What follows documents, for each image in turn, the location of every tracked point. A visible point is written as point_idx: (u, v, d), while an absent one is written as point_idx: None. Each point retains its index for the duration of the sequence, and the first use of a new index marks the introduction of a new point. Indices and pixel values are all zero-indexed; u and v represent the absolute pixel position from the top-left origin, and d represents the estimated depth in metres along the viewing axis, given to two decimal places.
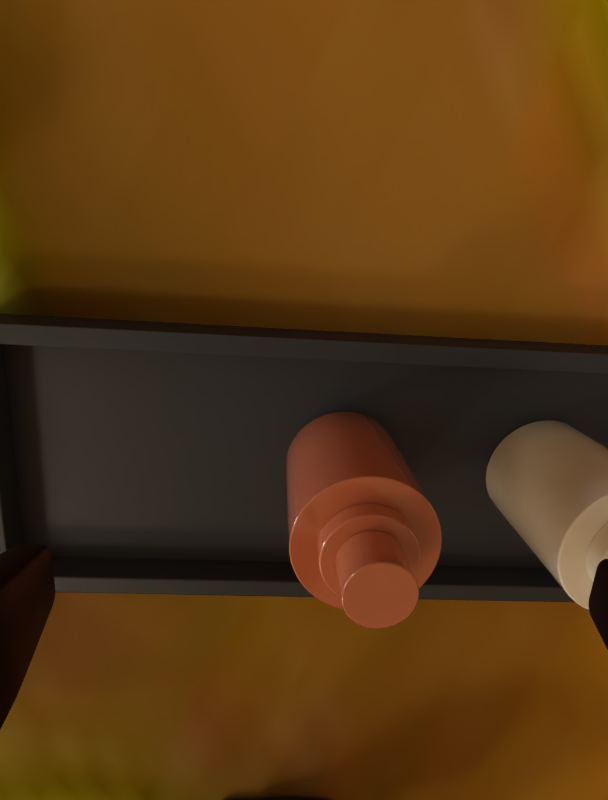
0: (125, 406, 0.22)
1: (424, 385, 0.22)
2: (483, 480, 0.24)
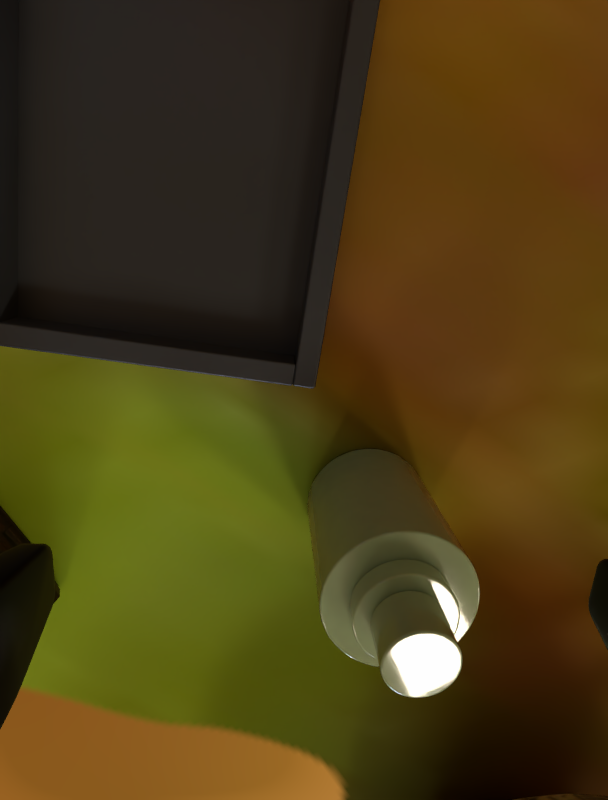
0: (102, 190, 0.18)
1: None
2: None
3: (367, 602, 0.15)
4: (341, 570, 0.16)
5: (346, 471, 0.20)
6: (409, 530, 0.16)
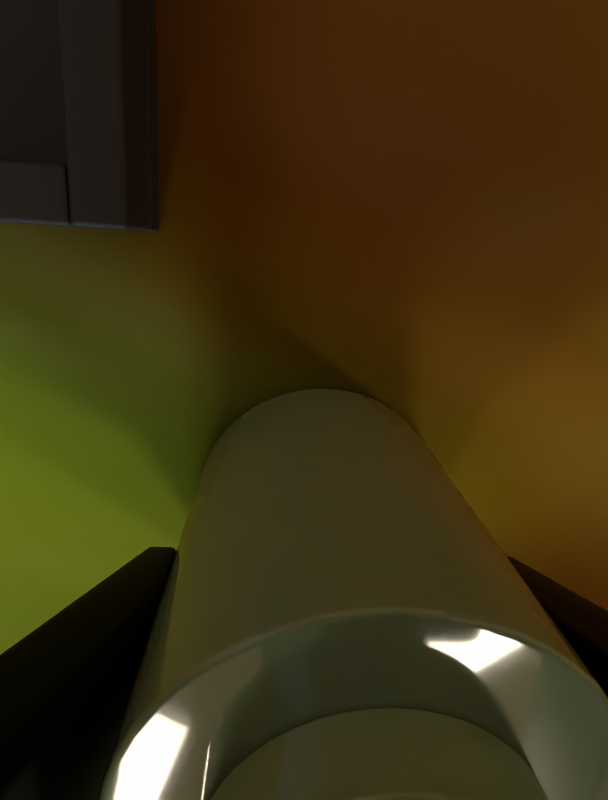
0: None
1: None
2: None
3: None
4: (145, 765, 0.04)
5: (248, 438, 0.09)
6: (373, 608, 0.04)
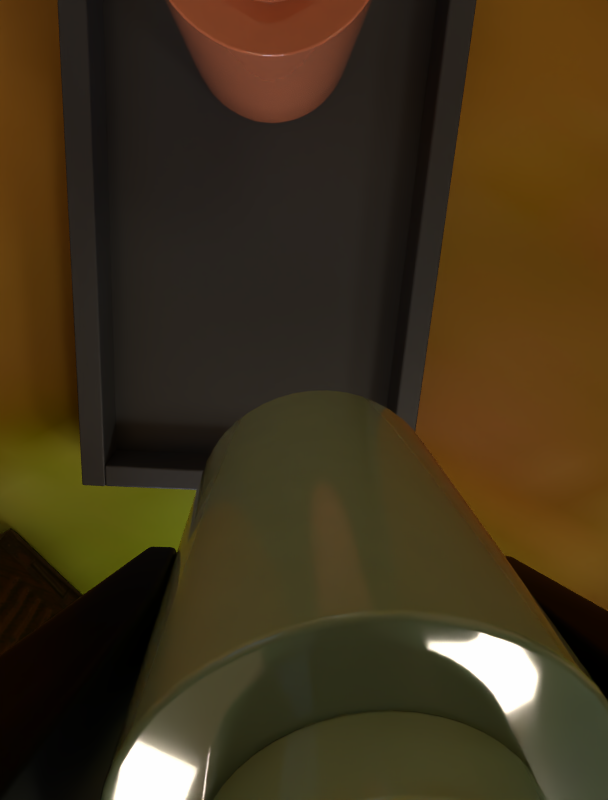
0: (191, 329, 0.19)
1: None
2: None
3: None
4: (147, 768, 0.04)
5: (248, 439, 0.09)
6: (373, 612, 0.04)
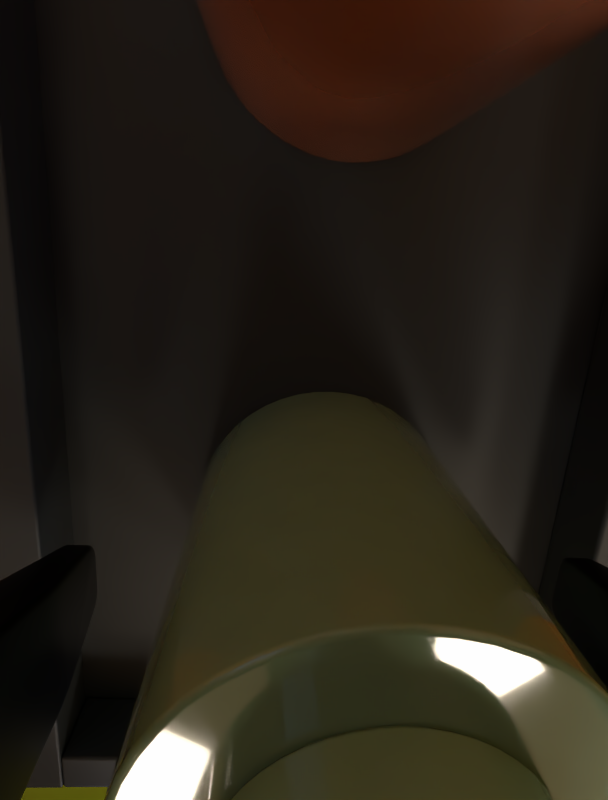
0: None
1: None
2: None
3: None
4: (148, 785, 0.04)
5: (251, 442, 0.09)
6: (382, 625, 0.04)
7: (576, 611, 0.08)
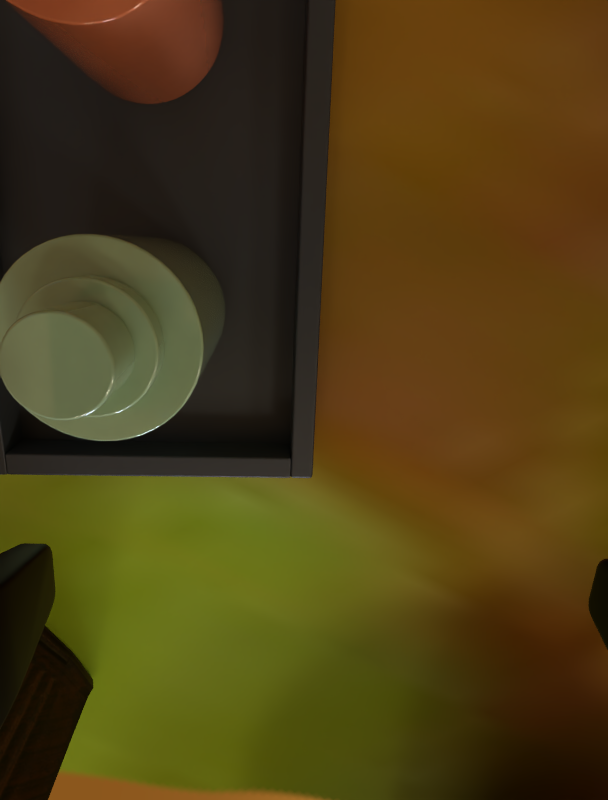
0: None
1: None
2: None
3: None
4: (4, 301, 0.12)
5: None
6: (79, 234, 0.12)
7: None
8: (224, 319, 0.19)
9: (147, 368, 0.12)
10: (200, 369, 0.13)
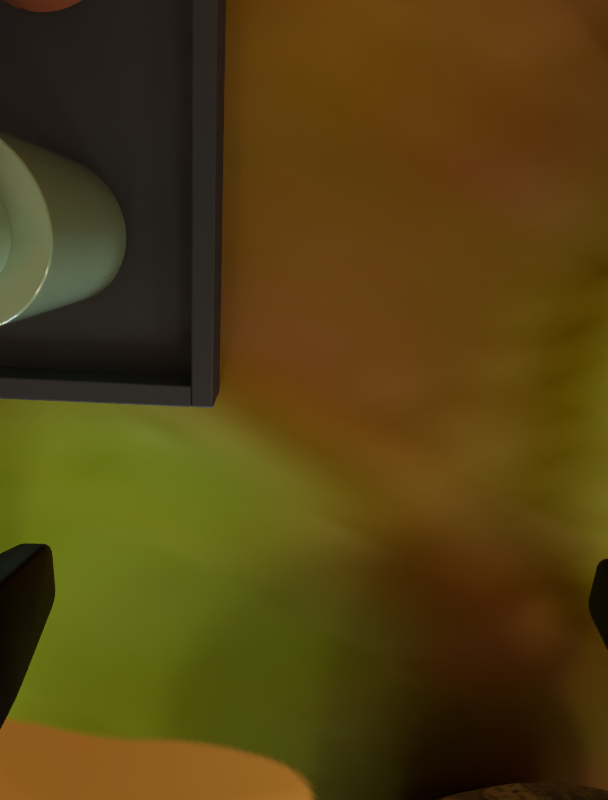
0: None
1: None
2: None
3: None
4: None
5: None
6: None
7: None
8: (123, 241, 0.18)
9: None
10: (51, 259, 0.13)
